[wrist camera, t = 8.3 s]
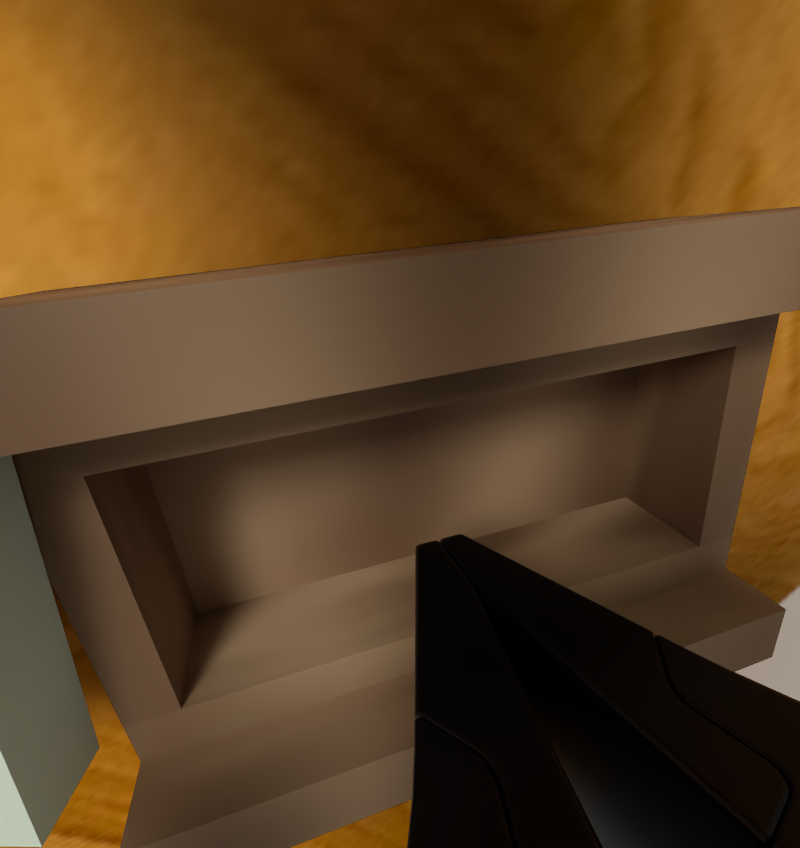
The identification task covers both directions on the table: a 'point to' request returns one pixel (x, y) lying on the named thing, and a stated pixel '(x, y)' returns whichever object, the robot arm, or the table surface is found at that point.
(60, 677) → the lid
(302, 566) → the walnut box
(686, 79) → the table surface
